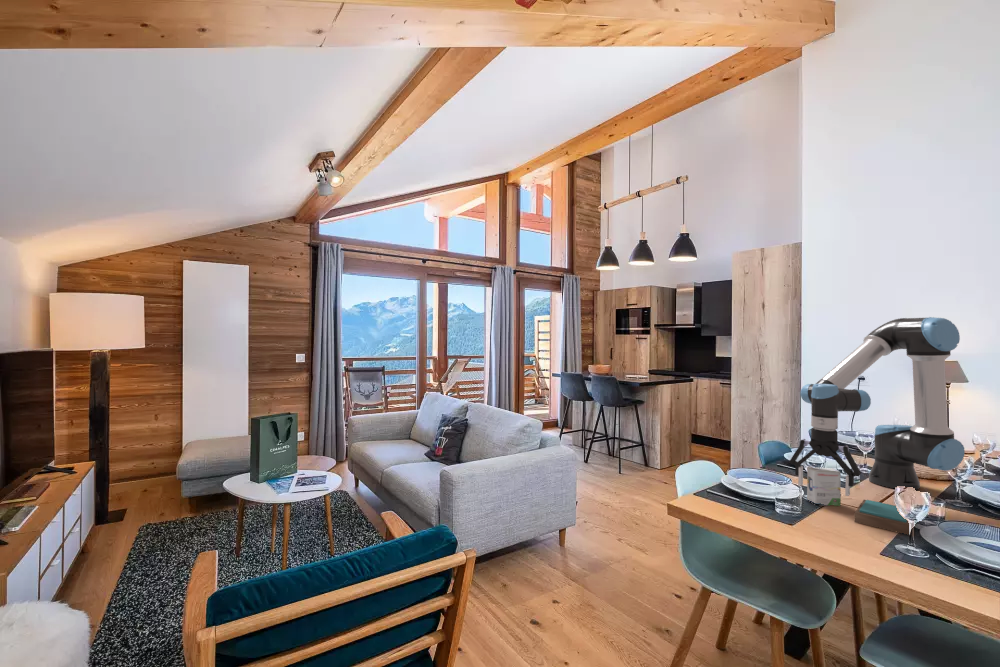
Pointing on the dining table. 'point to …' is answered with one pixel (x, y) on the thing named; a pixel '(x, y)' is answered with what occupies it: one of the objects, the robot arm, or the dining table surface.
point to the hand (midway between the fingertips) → (823, 489)
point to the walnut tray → (881, 516)
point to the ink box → (824, 486)
